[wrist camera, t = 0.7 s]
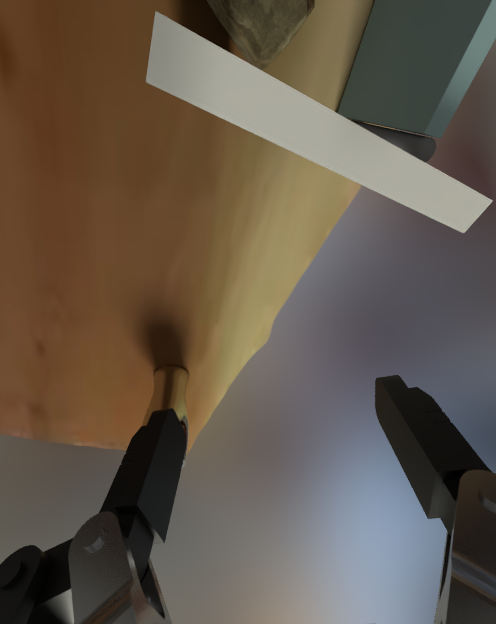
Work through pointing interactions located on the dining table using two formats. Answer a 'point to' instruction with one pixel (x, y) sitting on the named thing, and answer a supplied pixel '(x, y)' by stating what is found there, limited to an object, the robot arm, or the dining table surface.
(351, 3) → the dining table surface
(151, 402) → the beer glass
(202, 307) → the dining table surface
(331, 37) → the dining table surface
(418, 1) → the door
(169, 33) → the door frame
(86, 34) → the dining table surface
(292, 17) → the stone block
